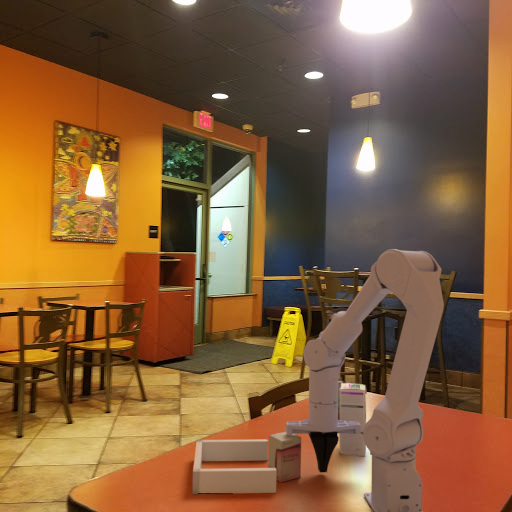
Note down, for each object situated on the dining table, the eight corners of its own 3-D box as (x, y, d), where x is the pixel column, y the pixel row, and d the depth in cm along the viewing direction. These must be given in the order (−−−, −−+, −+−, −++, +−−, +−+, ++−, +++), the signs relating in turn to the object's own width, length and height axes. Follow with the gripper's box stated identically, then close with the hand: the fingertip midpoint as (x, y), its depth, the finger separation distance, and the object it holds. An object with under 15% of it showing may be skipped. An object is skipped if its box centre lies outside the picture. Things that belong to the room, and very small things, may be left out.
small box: (280, 483, 95) (281, 441, 95) (267, 475, 99) (268, 434, 99) (301, 477, 98) (302, 436, 98) (288, 469, 101) (288, 430, 102)
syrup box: (366, 457, 109) (366, 389, 109) (338, 454, 110) (339, 387, 111) (365, 447, 115) (366, 383, 115) (339, 445, 116) (340, 382, 116)
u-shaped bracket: (276, 492, 91) (276, 470, 91) (192, 494, 90) (192, 471, 90) (267, 458, 107) (267, 439, 107) (196, 459, 106) (196, 439, 106)
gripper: (354, 395, 104) (353, 462, 103) (284, 395, 102) (283, 462, 102) (364, 404, 97) (363, 476, 96) (289, 405, 95) (287, 477, 95)
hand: (322, 470), depth 99 cm, fingers closed
